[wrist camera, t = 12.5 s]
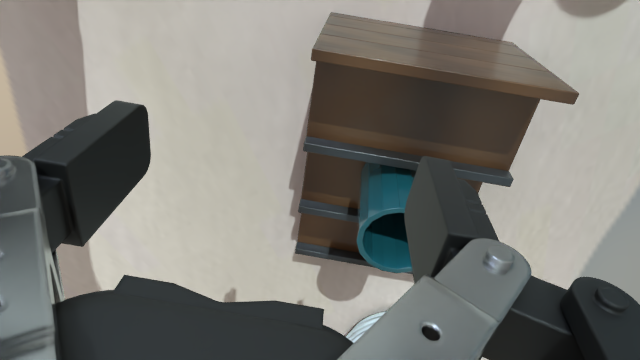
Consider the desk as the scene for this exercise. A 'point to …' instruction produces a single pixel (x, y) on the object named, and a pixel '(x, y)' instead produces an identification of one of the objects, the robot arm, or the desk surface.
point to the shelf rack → (409, 115)
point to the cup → (384, 217)
